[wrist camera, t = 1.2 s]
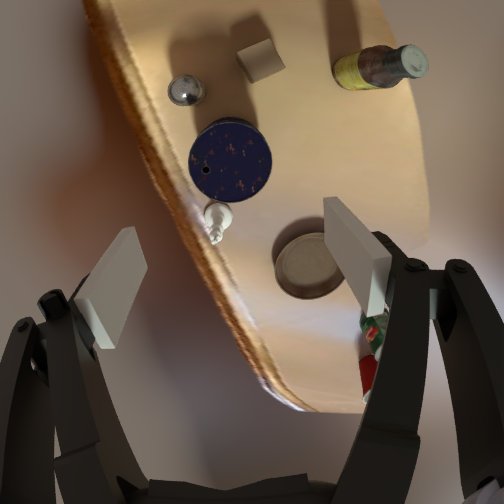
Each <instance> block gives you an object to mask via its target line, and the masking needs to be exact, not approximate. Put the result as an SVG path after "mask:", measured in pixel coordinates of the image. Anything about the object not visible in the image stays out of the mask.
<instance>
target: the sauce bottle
mask: <svg viewBox="0 0 504 504" xmlns="http://www.w3.org/2000/svg"><path fill="white" fill-rule="evenodd" d="M428 68H429V64H428V59H427V57H426V54H425V53H424V52H423V51H422V50H421V49H420V48H419V47H417V46H415V45H405V46H401V47H400V48H398V49H392V48H391V47H388V46H386V45H378V46H374V47H369V48H366V49H363V50H360V51H357V52H355V53H352V54H349V55H347V56H344V57H342V58H341V59H339V60H337V61H336V63H335V64H334V66H333V77H334V79H335V81H336V82H337V84H338V85H339V86H340V87H342V88H344V89H347V90H351V91H359V90H371V89H372V90H373V89H386V88H391V87H394V86H395V85H397V84H398V83H399V82H400V81H401V80H402V79H403V78H408V77H409V78H412V79H415V78H420V77H423V76H425V75H426V74H427V72H428Z"/></svg>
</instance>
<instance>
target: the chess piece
mask: <svg viewBox="0 0 504 504" xmlns="http://www.w3.org/2000/svg"><path fill="white" fill-rule="evenodd" d="M204 219H205V222H206V224H207V225H208V227H210V231H211V232H210V235H209V236H210V239H211V240H212V241H211V244H213V245H214V243H215V244H216V243H217V242H219V241H220V240H221V239H222V238H223V234H222V233H223V230H224V229H225V228H227V227H228V226H229V225H230V223H231V221H232V212H231V210H230V208H229V207H228V206H226V205H224V204H221V203H215V204H212V205H210V206H209V207H208V208H207V209H206V211H205V214H204Z"/></svg>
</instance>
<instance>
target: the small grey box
mask: <svg viewBox="0 0 504 504" xmlns="http://www.w3.org/2000/svg"><path fill="white" fill-rule="evenodd" d="M236 59H237V60H238V62H239V64H240V65H241V67H242V69H243V71H244V72H245V74H246V76H247V78H248V80H249V81H250V83H251V84H252V83H255V82H257V81H259V80H261V79H263V78H266V77H268V76H270V75H273V74H275V73H277V72H279V71H281V70H282V69H284V68H285V65H284V63H283V62H282V60H281V58H280V56H279V54H278V53H277V51H276V49H275V47H274V46H273V44H272V42H271V40H270V39H267V40H264V41H262V42H259V43H257V44H255V45H252V46H250V47H248V48H245V49H243V50H241V51H239V52H237V58H236Z"/></svg>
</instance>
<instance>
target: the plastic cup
mask: <svg viewBox="0 0 504 504" xmlns="http://www.w3.org/2000/svg"><path fill="white" fill-rule="evenodd" d="M377 365H378V361H377V360H376V359H375V356H374V355H369V356H366V357H364V358H363V359H362V360H361V361H360V363H359V368H360V376H361V381H362V387H363V399H362V401H363V402H364V403H366V404H367V401H368V397H369V394H370V391H371V387H372V383H373V380H374V376H375V372H376V368H377Z"/></svg>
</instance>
